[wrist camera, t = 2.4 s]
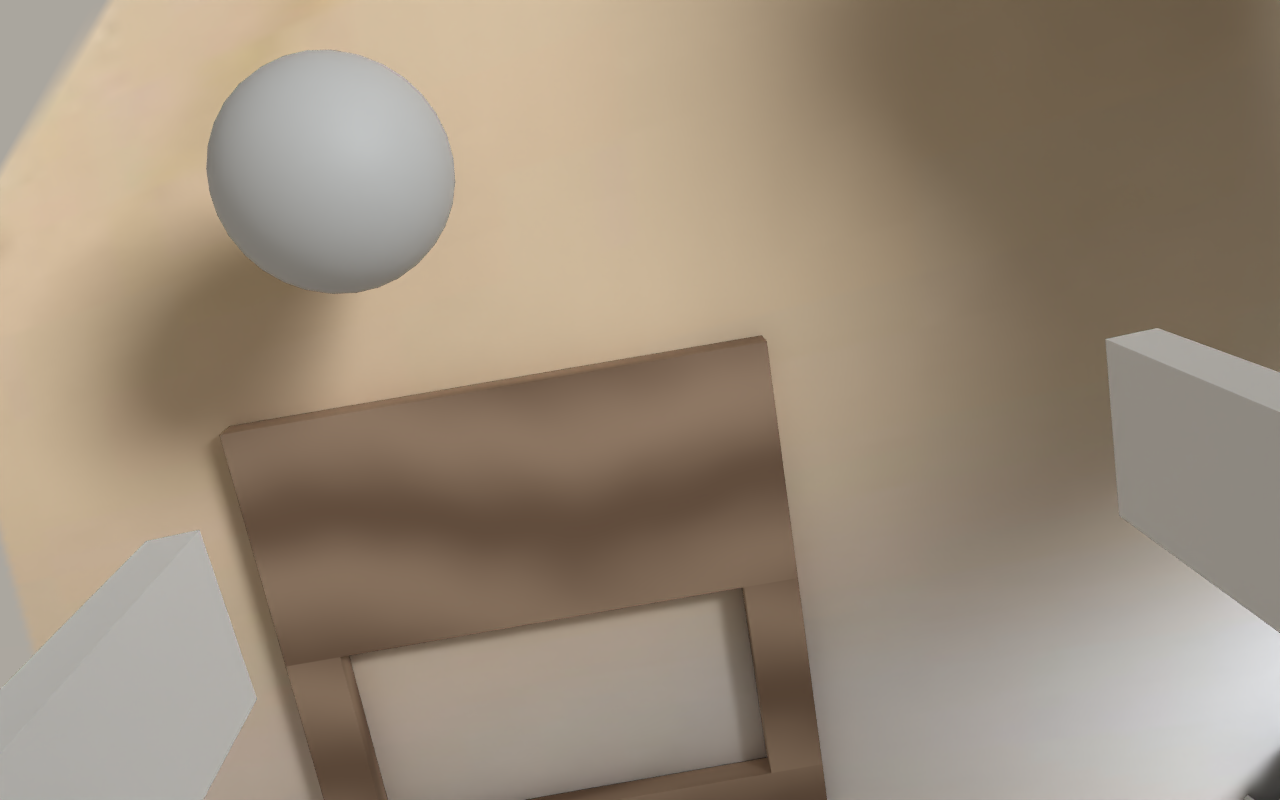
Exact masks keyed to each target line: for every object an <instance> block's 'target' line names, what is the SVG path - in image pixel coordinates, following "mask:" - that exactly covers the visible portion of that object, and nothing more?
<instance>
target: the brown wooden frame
mask: <svg viewBox="0 0 1280 800" xmlns="http://www.w3.org/2000/svg"><path fill="white" fill-rule="evenodd" d="M220 439H221V442H222V446H223V449H224V453H225V456H226V460H227V463H228V467H229V470H230V474H231V477H232V481H233V484H234V488H235V491H236V494H237V498H238V501H239V505H240V508H241V512H242V515H243V519H244V522H245V526H246V529H247V533H248V536H249V540H250V543H251V547H252V550H253V554H254V557H255V561H256V564H257V568H258V571H259V575H260V578H261V582H262V585H263V589H264V592H265V596H266V599H267V603H268V606H269V610H270V613H271V617H272V620H273V623H274V627H275V630H276V634H277V637H278V641H279V644H280V648H281V651H282V655H283V658H284V662H285V665H286V669H287V672H288V676H289V679H290V683H291V686H292V690H293V693H294V697H295V700H296V704H297V707H298V711H299V714H300V718H301V721H302V725H303V728H304V732H305V735H306V739H307V742H308V746H309V749H310V753H311V756H312V759H313V763H314V766H315V770H316V773H317V777H318V780H319V784H320V787H321V791H322V794H323V798H324V800H387V796H386V792H385V788H384V785H383V781H382V777H381V773H380V770H379V766H378V762H377V758H376V755H375V751H374V747H373V743H372V740H371V736H370V732H369V728H368V725H367V721H366V717H365V714H364V710H363V706H362V702H361V699H360V695H359V691H358V687H357V684H356V680H355V676H354V672H353V669H352V665H351V661H350V657H349V655H355V654H361V653H367V652H373V651H378V650H384V649H390V648H396V647H402V646H407V645H413V644H419V643H425V642H430V641H436V640H442V639H448V638H454V637H459V636H465V635H471V634H477V633H482V632H488V631H494V630H500V629H506V628H511V627H517V626H523V625H529V624H535V623H540V622H546V621H552V620H558V619H563V618H569V617H575V616H581V615H587V614H592V613H598V612H604V611H610V610H616V609H621V608H627V607H633V606H639V605H644V604H650V603H656V602H662V601H668V600H673V599H679V598H685V597H691V596H697V595H702V594H708V593H714V592H720V591H725V590H731V589H737V588H742V591H743V598H744V605H745V612H746V618H747V625H748V632H749V639H750V646H751V652H752V659H753V666H754V673H755V679H756V686H757V693H758V700H759V706H760V713H761V720H762V727H763V733H764V740H765V747H766V754H767V758H762V759H756V760H751V761H745V762H739V763H733V764H728V765H722V766H716V767H710V768H705V769H699V770H693V771H688V772H682V773H676V774H670V775H665V776H659V777H653V778H647V779H642V780H636V781H630V782H624V783H619V784H613V785H607V786H602V787H596V788H590V789H584V790H579V791H573V792H567V793H561V794H556V795H550V796H544V797H538V798H533V799H527V800H827V796H826V788H825V781H824V773H823V766H822V758H821V750H820V743H819V735H818V728H817V720H816V712H815V705H814V697H813V690H812V682H811V674H810V667H809V659H808V652H807V644H806V636H805V629H804V621H803V614H802V606H801V598H800V591H799V583H798V576H797V568H796V560H795V553H794V545H793V538H792V530H791V522H790V515H789V507H788V500H787V492H786V484H785V477H784V469H783V461H782V454H781V446H780V439H779V431H778V423H777V416H776V408H775V401H774V393H773V385H772V378H771V370H770V363H769V355H768V347H767V341H766V340H765V339H764V338H763V336H756V337H750V338H744V339H738V340H732V341H727V342H721V343H715V344H709V345H703V346H697V347H691V348H686V349H680V350H674V351H668V352H662V353H656V354H650V355H645V356H639V357H633V358H627V359H621V360H615V361H609V362H604V363H598V364H592V365H586V366H580V367H574V368H568V369H563V370H557V371H551V372H545V373H539V374H533V375H527V376H522V377H516V378H510V379H504V380H498V381H492V382H486V383H481V384H475V385H469V386H463V387H457V388H451V389H445V390H440V391H434V392H428V393H422V394H416V395H410V396H404V397H399V398H393V399H387V400H381V401H375V402H369V403H363V404H358V405H352V406H346V407H340V408H334V409H328V410H322V411H317V412H311V413H305V414H299V415H293V416H287V417H281V418H276V419H270V420H264V421H258V422H252V423H246V424H240V425H235V426H229V427H228V428H227V429H226V430H224V431H223V432H222V433H221V434H220Z"/></svg>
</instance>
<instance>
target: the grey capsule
mask: <svg viewBox="0 0 1280 800" xmlns="http://www.w3.org/2000/svg"><path fill="white" fill-rule="evenodd" d="M206 170H207V177H208V184H209V191H210V195H211V198H212V201H213V204H214V207H215V210H216V213H217V215H218V217H219V219H220V221H221V223H222V224H223V226H224V228H225V230H226V231H227V233H228V235H229V237H230V238H231V239H232V240H233V241H234V243H235V244H236V245H237V246H238V247H239V249H240V250H241V251H242V252H243V253H244V255H245V256H247V257H248V258H249V259H250V260H251V261H253V262H254V263H255V264H256V265H257V266H259V267H260V268H261V269H262V270H263V271H265V272H267V273H269V274H270V275H272V276H274V277H276V278H277V279H279V280H281V281H283V282H285V283H288V284H291V285H294V286H297V287H299V288H302V289H305V290H311V291H317V292H324V293H332V294H338V293H357V292H362V291H366V290H370V289H374V288H378V287H381V286H383V285H385V284H387V283H389V282H391V281H393V280H396V279H398V278H399V277H401V276H402V275H403V274H405V273H406V272H408V271H409V270H410V269H412V268H413V267H414V266H416V265H417V264H418V263H419V262H420V261H421V260H422V259H423V258H424V256H425V255H426V254H427V253H428V252H429V251H430V250H431V248H432V247H433V246H434V245H435V243H436V242H437V240H438V238H439V236H440V235H441V233H442V231H443V229H444V228H445V226H446V223H447V220H448V217H449V214H450V211H451V207H452V204H453V196H454V187H455V173H454V160H453V155H452V152H451V148H450V144H449V141H448V137H447V134H446V132H445V130H444V128H443V126H442V124H441V122H440V120H439V118H438V116H437V114H436V112H435V111H434V110H433V108H432V107H431V106H430V104H429V103H428V102H427V100H426V99H425V98H424V96H423V95H422V94H421V93H420V92H419V91H418V90H417V89H416V88H415V87H414V86H413V85H412V84H411V83H409V82H408V81H407V80H406V79H405V78H404V77H403V76H401V75H399V74H398V73H396V72H395V71H393V70H391V69H390V68H388V67H387V66H385V65H383V64H381V63H379V62H376V61H374V60H371V59H368V58H366V57H363V56H361V55H357V54H352V53H347V52H341V51H335V50H306V51H302V52H298V53H294V54H290V55H286V56H282V57H280V58H278V59H276V60H274V61H272V62H270V63H268V64H266V65H264V66H261V67H260V68H259V69H258V70H256V71H255V72H254V73H253V74H251V75H250V76H249V77H247V78H246V79H245V80H244V81H242V82H241V83H240V84H239V85H238V86H237V87H236V88H235V90H234V91H233V92H232V93H231V95H230V96H229V97H228V98H227V99H226V101H225V102H224V104H223V106H222V108H221V110H220V112H219V114H218V116H217V118H216V119H215V121H214V124H213V128H212V132H211V135H210V139H209V143H208V150H207V167H206Z"/></svg>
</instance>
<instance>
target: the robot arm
mask: <svg viewBox="0 0 1280 800" xmlns="http://www.w3.org/2000/svg"><path fill="white" fill-rule="evenodd" d="M1105 341H1106V354H1107V366H1108V379H1109V392H1110V405H1111V418H1112V430H1113V443H1114V456H1115V469H1116V482H1117V494H1118V507H1119V516H1120V517H1122V518H1123V519H1124V520H1126V521H1127V522H1129V523H1130V524H1131V525H1133V526H1134V527H1135V528H1137V529H1138V530H1139V531H1141V532H1142V533H1144V534H1145V535H1146V536H1148V537H1149V538H1150V539H1152V540H1153V541H1155V542H1156V543H1157V544H1159V545H1160V546H1161V547H1163V548H1164V549H1165V550H1167V551H1168V552H1170V553H1171V554H1172V555H1174V556H1175V557H1176V558H1178V559H1179V560H1181V561H1182V562H1183V563H1185V564H1186V565H1187V566H1189V567H1190V568H1192V569H1193V570H1194V571H1196V572H1197V573H1198V574H1200V575H1201V576H1202V577H1204V578H1205V579H1207V580H1208V581H1209V582H1211V583H1212V584H1213V585H1215V586H1216V587H1218V588H1219V589H1220V590H1222V591H1223V592H1224V593H1226V594H1227V595H1229V596H1230V597H1231V598H1233V599H1234V600H1235V601H1237V602H1238V603H1239V604H1241V605H1242V606H1244V607H1245V608H1246V609H1248V610H1249V611H1250V612H1252V613H1253V614H1255V615H1256V616H1257V617H1259V618H1260V619H1261V620H1263V621H1264V622H1266V623H1267V624H1268V625H1270V626H1271V627H1272V628H1274V629H1275V630H1276V631H1278V632H1279V633H1280V372H1277V371H1275V370H1272V369H1269V368H1266V367H1264V366H1261V365H1258V364H1255V363H1253V362H1250V361H1247V360H1244V359H1242V358H1239V357H1236V356H1233V355H1231V354H1228V353H1225V352H1222V351H1220V350H1217V349H1214V348H1211V347H1209V346H1206V345H1203V344H1200V343H1198V342H1195V341H1192V340H1189V339H1187V338H1184V337H1181V336H1178V335H1176V334H1173V333H1170V332H1167V331H1165V330H1162V329H1159V328H1155V329H1150V330H1146V331H1141V332H1136V333H1131V334H1127V335H1122V336H1117V337H1112V338H1108V339H1105ZM256 700H257V697H256V694H255V691H254V688H253V686H252V683H251V680H250V677H249V674H248V671H247V668H246V665H245V662H244V659H243V656H242V653H241V650H240V647H239V644H238V641H237V639H236V636H235V633H234V630H233V627H232V624H231V621H230V618H229V615H228V612H227V609H226V606H225V603H224V600H223V597H222V594H221V592H220V589H219V586H218V583H217V580H216V577H215V574H214V571H213V568H212V565H211V562H210V559H209V556H208V553H207V550H206V547H205V545H204V542H203V539H202V536H201V533H200V530H196V531H192V532H187V533H182V534H177V535H173V536H168V537H163V538H158V539H154V540H149V541H146V542H145V543H144V544H143V545H142V546H141V547H140V548H139V549H138V550H137V551H136V552H135V553H134V554H133V555H132V556H131V557H130V558H129V559H128V560H127V561H126V562H125V563H124V564H123V565H122V566H121V567H120V568H119V569H118V570H117V571H116V572H115V573H114V574H113V575H112V576H111V577H110V578H109V579H108V580H107V581H106V582H105V583H104V584H103V585H102V586H101V587H100V588H99V589H98V590H97V591H96V592H95V593H94V594H93V595H92V596H91V597H90V598H89V599H88V600H87V601H86V602H85V603H84V604H83V605H82V606H81V607H80V608H79V609H78V610H77V611H76V612H75V613H74V614H73V616H72V617H71V618H70V619H69V620H68V621H67V622H66V623H65V624H64V625H63V626H62V627H61V628H60V629H59V630H58V631H57V632H56V633H55V634H54V635H53V636H52V637H51V638H50V639H49V640H48V641H47V642H46V643H45V644H44V645H43V646H42V647H41V648H40V649H39V650H38V651H37V652H36V653H35V654H34V655H33V656H32V657H31V658H30V659H29V660H28V661H27V662H26V663H25V664H24V665H23V666H22V667H21V668H20V669H19V670H18V671H17V672H16V673H15V674H14V675H13V676H12V677H11V678H10V679H9V680H8V681H7V682H6V683H5V684H4V685H3V686H2V687H1V688H0V800H203V799H204V797H205V796H206V794H207V792H208V790H209V788H210V786H211V784H212V782H213V781H214V779H215V777H216V775H217V773H218V771H219V769H220V767H221V766H222V764H223V762H224V760H225V758H226V756H227V754H228V752H229V751H230V749H231V747H232V745H233V743H234V741H235V739H236V737H237V736H238V734H239V732H240V730H241V728H242V726H243V724H244V722H245V721H246V719H247V717H248V715H249V713H250V711H251V709H252V707H253V706H254V704H255V702H256Z"/></svg>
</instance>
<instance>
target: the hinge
mask: <svg viewBox="0 0 1280 800" xmlns="http://www.w3.org/2000/svg"><path fill="white" fill-rule="evenodd" d="M1243 800H1254V799H1253V798H1251V797H1250V796H1248V795H1246V797H1245V798H1244V799H1243ZM1279 800H1280V799H1279Z"/></svg>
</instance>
